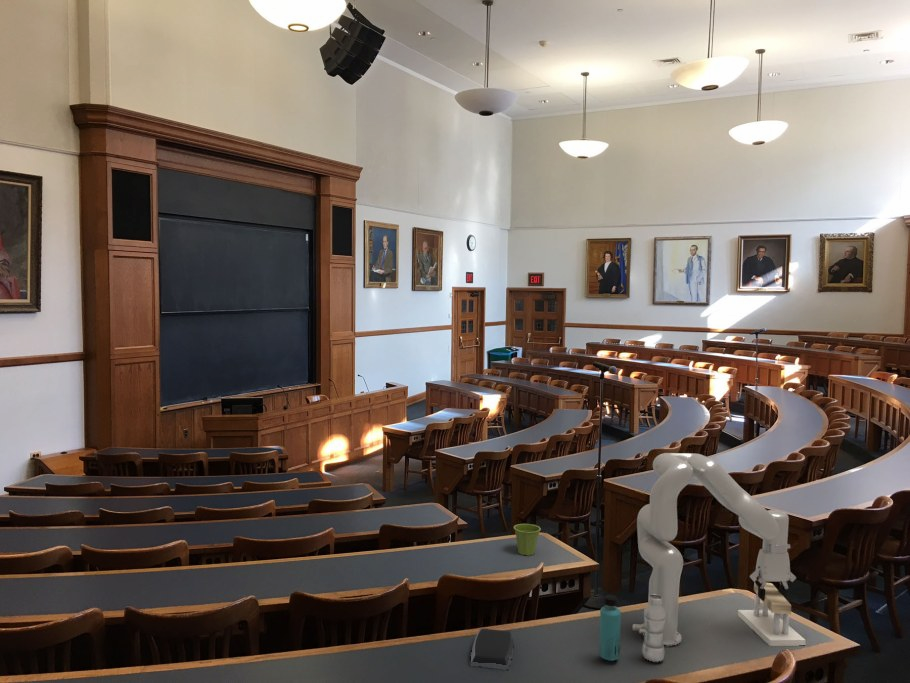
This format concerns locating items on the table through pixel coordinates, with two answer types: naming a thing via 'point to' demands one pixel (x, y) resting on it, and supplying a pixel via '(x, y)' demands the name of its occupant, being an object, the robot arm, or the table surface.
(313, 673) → the table surface
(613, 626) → the beverage bottle
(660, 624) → the plastic bottle
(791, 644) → the peg stand
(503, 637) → the external hard drive
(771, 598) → the shelf board
